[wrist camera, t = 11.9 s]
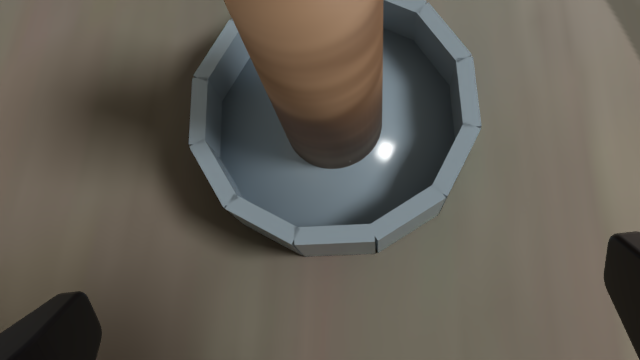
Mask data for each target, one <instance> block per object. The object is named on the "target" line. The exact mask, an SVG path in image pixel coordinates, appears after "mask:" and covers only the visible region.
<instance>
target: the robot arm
mask: <svg viewBox="0 0 640 360" xmlns="http://www.w3.org/2000/svg"><path fill="white" fill-rule="evenodd" d="M604 282H605V286H606V289H607V291H608V293H609V295H610V297H611V300H612V302H613V304H614V306H615V308H616V310H617V313H618V315H619V317H620V319H621V321H622V323H623V325H624V328H625V330H626V332H627V334H628V336H629V338H630V341H631V343H632V345H633V347H634V349H635V351H636V353H637V356H638V358H639V360H640V232H626V233H617V234H614V235H612V236H611V237H610V239H609V242H608V247H607V254H606V261H605V269H604ZM101 336H102V331H101V326H100V323H99V321H98V318H97V316H96V314H95V312H94V310H93V307H92V305H91V303H90V301H89V299H88V297H87V295H86V294H85V293H83V292H80V291H78V292H68V293H61V294H58V295H56V296H55V297H53V298H52V299H50V300H49V301H47V302H46V303H44V304H43V305H41V306H40V307H39V308H37V309H36V310H34V311H33V312H31V313H30V314H28V315H27V316H25V317H24V318H22V319H21V320H19V321H18V322H16V323H15V324H13V325H12V326H10V327H9V328H8V329H6V330H5V331H3V332H2V333H0V360H96V357H97V353H98V349H99V346H100V342H101Z"/></svg>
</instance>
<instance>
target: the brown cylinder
mask: <svg viewBox="0 0 640 360" xmlns="http://www.w3.org/2000/svg"><path fill="white" fill-rule="evenodd" d="M224 2H225V4H226V6H227V9H228V11H229V13H230V15H231V17H232V19H233V21H234V24H235V26H236V28H237V30H238V32H239V34H240V37H241V39H242V41H243V43H244V45H245V47H246V49H247V52H248V54H249V56H250V58H251V60H252V62H253V65H254V67H255V69H256V71H257V73H258V75H259V77H260V80H261V82H262V84H263V86H264V88H265V90H266V93H267V95H268V97H269V99H270V101H271V103H272V106H273V108H274V110H275V112H276V114H277V116H278V118H279V121H280V123H281V125H282V127H283V129H284V131H285V134H286V136H287V138H288V140H289V142H290V144H291V146H292V148H293V149H294V151H295V152H296V153H297V154H298V155H299V156H300V157H301V158H302V159H303V160H305V161H306V162H308V163H310V164H312V165H314V166H317V167H320V168H326V169H338V168H344V167H348V166H351V165H353V164H355V163H357V162H359V161H361V160H362V159H364V158H365V157H366V156H367V155H368V154H369V153H370V152H371V151H372V150H373V148H374V147H375V145H376V144H377V142H378V140H379V137H380V134H381V129H382V89H383V0H224Z"/></svg>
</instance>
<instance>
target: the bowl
mask: <svg viewBox="0 0 640 360" xmlns="http://www.w3.org/2000/svg"><path fill="white" fill-rule="evenodd" d="M426 2H427V1H425V0H383V89H382V129H381V134H380V137H379V140H378V142H377V144H376V145H375V147H374V148H373V150H372V151H371V152H370V153H369V154H368V155H367V156H366V157H365V158H364V159H362V160H361V161H359V162H357V163H355V164H353V165H351V166H348V167H344V168H338V169H326V168H320V167H317V166H314V165H312V164H310V163H308V162H306V161H305V160H303V159H302V158H301V157H300V156H299V155H298V154H297V153H296V152H295V151H294V149H293V148H292V146H291V144H290V142H289V140H288V138H287V136H286V134H285V131H284V129H283V127H282V125H281V123H280V121H279V118H278V116H277V114H276V112H275V110H274V108H273V106H272V103H271V101H270V99H269V97H268V95H267V93H266V90H265V88H264V86H263V84H262V82H261V80H260V77H259V75H258V73H257V71H256V69H255V67H254V65H253V62H252V60H251V58H250V56H249V54H248V52H247V49H246V47H245V45H244V43H243V41H242V39H241V37H240V34H239V32H238V30H237V28H236V26H235V24H234V21H233V19H232V18H231V19H232V21H231V20H229V21H228V23H227V24H226V26H225V27H224V29H223V30H222V32H221V33H220V35H219V36H218V38H217V39H216V41H215V43H214V44H213V46H212V47H211V49H210V50H209V52H208V53H207V55H206V56H205V58H204V60H203V61H202V63H201V64H200V66H199V67H198V69H197V70H196V72H195V73H194V75H193V76H194V78H192V92H191V110H190V128H189V145H190V149H191V151H192V153H193V154H194V156H195V158H196V160H197V161H198V163H199V165H200V167H201V169H202V170H203V172H204V174H205V176H206V177H207V179H208V181H209V183H210V185H211V186H212V188H213V190H214V192H215V193H216V195H217V197H218V199H219V201H220V202H221V204H222V206H223V207H224V208H225V209H226V210H227V211H228V212H229V213H231V214H232V215H233V216H234V217H235V218H237V219H238V220H239V221H240V222H241V223H243V224H244V225H246V226H248V227H250V228H251V229H253V230H255V231H257V232H259V233H261V234H263V235H264V236H266V237H268V238H270V239H272V240H274V241H276V242H277V243H279V244H281V245H283V246H285V247H287V248H289V249H290V250H292V251H294V252H296V253H298V254H300V255H302V256H303V255H304V256H305V257H307V256H332V255H357V254H376V253H375V249H376V251H377V252H378V253H379V252H380V251H382V250H384V249H385V248H387V247H388V246H390V245H391V244H393V243H395V242H396V241H398V240H399V239H401V238H402V237H404V236H406V235H407V234H409V233H410V232H412V231H414V230H415V229H417V228H418V227H420V226H421V225H423V224H425V223H426V222H428V221H429V220H431V219H432V218H434V217H436V216H437V215H438V213H440V211H441V209H442V207H443V205H444V203H445V201H446V199H447V197H448V195H449V193H450V190H451V188H452V186H453V184H454V182H455V180H456V178H457V176H458V174H459V172H460V170H461V168H462V166H463V164H464V162H465V160H466V158H467V156H468V154H469V152H470V150H471V148H472V146H473V144H474V142H475V140H476V138H477V136H478V134H479V132H480V129H481V118H480V110H479V102H478V94H477V86H476V78H475V70H474V62H473V57H471V55H472V54H471V53H470V52H469V50H468V49H467V48H466V47H465V46H464V44H463V43H462V42H461V41H460V40H459V38H458V37H457V36H456V35H455V34H454V32H453V31H452V30H451V29H450V28H449V26H448V25H447V24H446V23H445V22H444V20H443V19H442V18H441V17H440V16H439V14H438V13H437V12H436V11H435V10H434V8H433V7H432V6H431V5H430V4H429V2H428V3H427V4H426Z"/></svg>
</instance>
